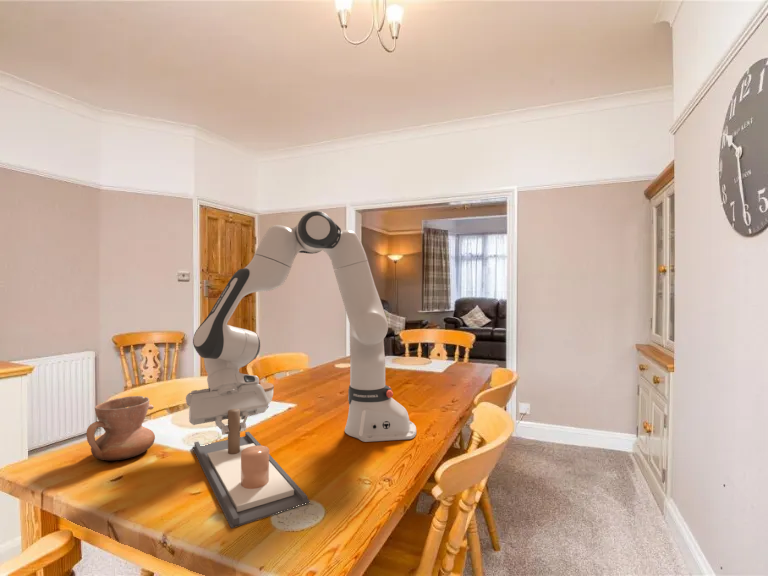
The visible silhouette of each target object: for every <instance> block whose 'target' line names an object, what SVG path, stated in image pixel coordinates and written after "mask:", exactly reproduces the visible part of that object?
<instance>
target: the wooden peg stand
mask: <svg viewBox="0 0 768 576" xmlns="http://www.w3.org/2000/svg"><path fill="white" fill-rule="evenodd" d="M240 423H241V417H240V409H230V410H228V419H227V425H228V429H229V433H228V434H227V440H228V449H224V450H220V451H215V452H210V453H207V458H208V460H209V462H210V464H211V465H212V467H213V469H214V471H215V473H216V475H217V477H218V478H219V480H220V482H221V484H222V486H223V488H224V489H225V491H226V493H227V495H228V497H229V499H230V501H231V502H232V504H233V506H234V508H235V510H236V512H240V511H243V510H246V509H249V508H253V507H256V506H259V505H263V504H266V503H269V502H273V501H276V500H279V499H282V498H286V497H289V496H292V495H294V489H293V488H292V487H291V486H290V484H289V483H288V482H287V481H286V480H285V479H284V478H283V476H282V475H281V474H280V473H279V472H278V471H277V470H276V468H275V467H274V466H273V465H272V464H271V463H270V462H269V482H268V483H267V484H266V485H264V486H262V487H259V488H254V489H248V488H244V487H242V486H241V451H242V450H243V449H245V448H247V447H251V446H256V445H255V444H254V443H252V444H248V445H243V446H240V437H241V431H240Z"/></svg>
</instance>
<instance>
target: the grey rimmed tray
mask: <svg viewBox="0 0 768 576" xmlns="http://www.w3.org/2000/svg"><path fill="white" fill-rule="evenodd" d="M244 433H245V435H244V436H240V446H243V445H248V444H252V443H254V444H255V445H256V446H262V445H261V443H260V442H259V441H258V440H257V439H256V438H255V437H254V435H253V434H252V433H251V432H250V431H245V432H244ZM210 443H211V444H209V443H207V444H208V445H205V446H200V445H201V443H200V442H199V441H194V445H193V446H192V450H193V449H194V450H193V452H194V454H196V455H195V456H197V457H196V458H198V459H197V461H198V460H199V461H198V463H199V465H200V467H201V469H202V472H203V473H204V475H205V477H206V479H207V482H208V483H209V485H210V488H211V490H212V492H213V494H214V496H215V498H216V500H217V502H218V504H219V506H220V507H221V510H222V512H223V514H224V517H225V518H226V521H227V522H228V525H229V527H230V529H234V528H237V527H239V526H240V527H241V526H242V525H243V526H244V525H247V524H249V523H253V522H256V521H258V520H262V519H265V518H268V517H271V516H273V514H274V515H277V514H276V513H278V512H281V511H284V510H287V509H290V508H293V507H296V506H298V505H302V504H305V503H309V502H310V500H309V499H308V495H307V494H306V492H304V491H303V490H302V488H301V487H300V486H299V485H298V484H297V483H296V482H295V481H294V480H293V479H292V477H291V476H290V475H289V474H288V473H287V471H285V470H284V468H282V467H281V466H280V464H279V463H278V462H277V461H276V460H275V459H274V458H273V457H272V456H271V454H270V453H269V462H270V463H271V464H272V465H273V466H274V467H275V468H276V470H277V471H278V472H279V473H280V474H281V475H282V476H283V478H284V479H285V480H286V481H287V482H288V483H289V484H290V486H291V487H292V488H293V489H294V495H292V496H289V497H286V498H282V499H279V500H276V501H273V502H269V503H266V504H263V505H259V506H256V507H253V508H249V509H246V510H243V511H240V512H236V510H235V508H234V506H233V504H232V502H231V501H230V499H229V497H228V495H227V493H226V491H225V489H224V488H223V486H222V484H221V482H220V480H219V478H218V477H217V475H216V473H215V471H214V469H213V467H212V465H211V464H210V462H209V460H208V458H207V453H210V452H215V451H220V450H224V449H228V439H225V440H220V441H216V442H215V441H214V442H210ZM309 504H310V503H309ZM305 505H306V504H305ZM302 506H303V505H302ZM296 508H297V507H296ZM293 509H294V508H293ZM290 510H291V509H290ZM287 511H288V510H287ZM284 512H285V511H284ZM281 513H282V512H281ZM278 514H279V513H278Z"/></svg>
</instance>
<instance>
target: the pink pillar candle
mask: <svg viewBox="0 0 768 576" xmlns="http://www.w3.org/2000/svg"><path fill="white" fill-rule="evenodd" d="M269 454H270V448H269V447H267V446H266V445H261V446H251V447H247V448H245V449H243V450H242V451H241V486H242V487H244V488H248V489H254V488H259V487H262V486H264V485H266V484H267V483H268V482H269Z"/></svg>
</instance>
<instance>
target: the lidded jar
mask: <svg viewBox="0 0 768 576" xmlns="http://www.w3.org/2000/svg"><path fill="white" fill-rule="evenodd" d="M258 384H259V385H261V386H262V387H263V389H264V391H265V393H266V396H267V399H268V403H269V404H270V403H271V402H272V400H273V397H274V387H275V385H274V384H273V383H271V382H265V381H264V382H261V381H260V380H259V383H258Z"/></svg>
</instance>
